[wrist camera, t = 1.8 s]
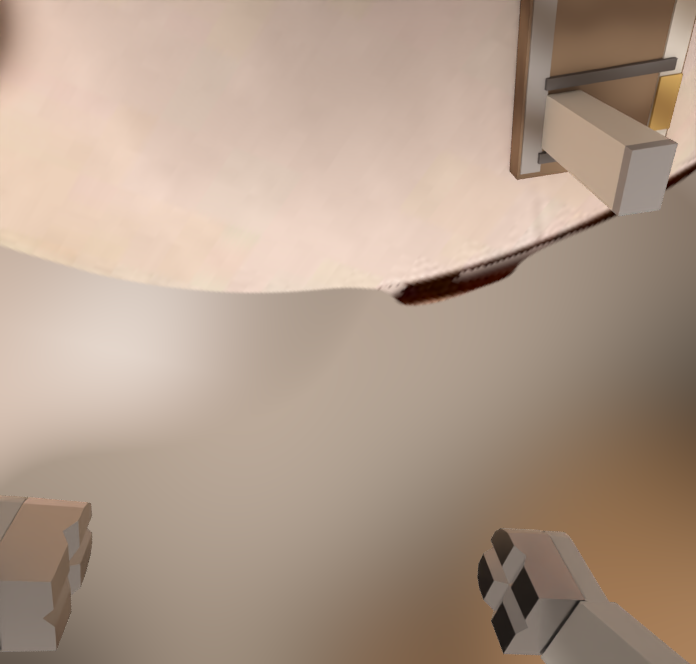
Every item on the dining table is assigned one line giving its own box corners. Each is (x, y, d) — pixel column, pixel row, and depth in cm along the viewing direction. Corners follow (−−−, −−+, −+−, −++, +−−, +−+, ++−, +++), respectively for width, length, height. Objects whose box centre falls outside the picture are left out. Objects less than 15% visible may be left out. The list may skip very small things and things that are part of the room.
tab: (546, 95, 38) (632, 150, 28) (579, 89, 38) (677, 143, 28) (541, 147, 40) (618, 216, 30) (572, 142, 40) (659, 209, 30)
